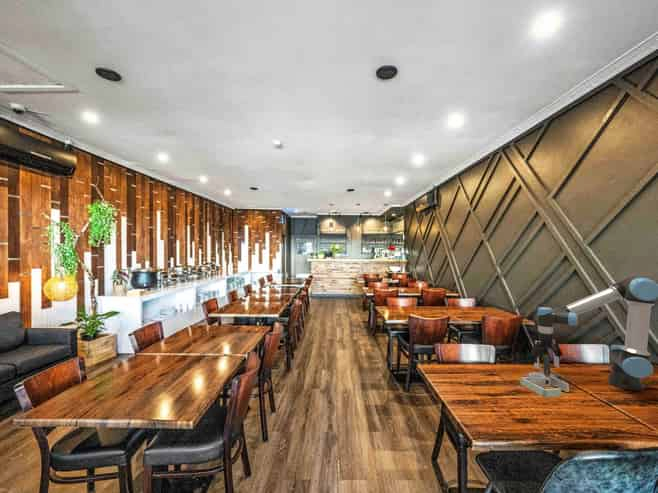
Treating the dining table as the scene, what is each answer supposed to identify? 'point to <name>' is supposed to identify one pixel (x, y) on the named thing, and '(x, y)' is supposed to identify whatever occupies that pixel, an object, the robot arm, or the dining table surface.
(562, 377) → the rail
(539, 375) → the cup
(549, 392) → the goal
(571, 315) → the robot arm
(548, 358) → the kicker
